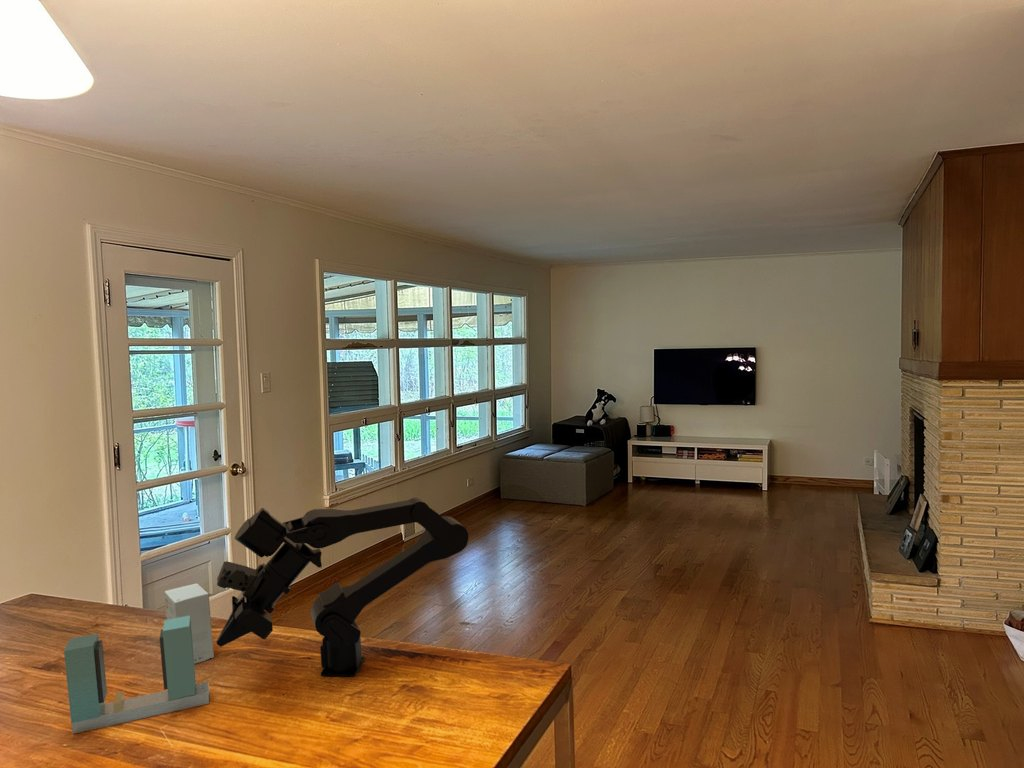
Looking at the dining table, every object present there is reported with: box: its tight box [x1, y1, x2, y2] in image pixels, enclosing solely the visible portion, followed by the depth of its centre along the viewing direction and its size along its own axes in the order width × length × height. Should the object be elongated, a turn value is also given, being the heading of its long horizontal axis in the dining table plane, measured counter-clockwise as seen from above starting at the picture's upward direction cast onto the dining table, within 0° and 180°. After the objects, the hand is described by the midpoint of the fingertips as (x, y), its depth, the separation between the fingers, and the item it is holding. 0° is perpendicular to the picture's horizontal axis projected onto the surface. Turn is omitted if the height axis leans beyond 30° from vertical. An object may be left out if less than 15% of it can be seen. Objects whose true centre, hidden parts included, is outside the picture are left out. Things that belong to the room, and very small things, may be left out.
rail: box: [63, 633, 210, 735], centre depth 117 cm, size 20×5×14 cm, turn 112°
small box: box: [164, 583, 215, 665], centre depth 137 cm, size 8×6×13 cm
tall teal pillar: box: [159, 616, 197, 700], centre depth 119 cm, size 5×5×12 cm
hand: (218, 644), depth 121 cm, fingers closed
